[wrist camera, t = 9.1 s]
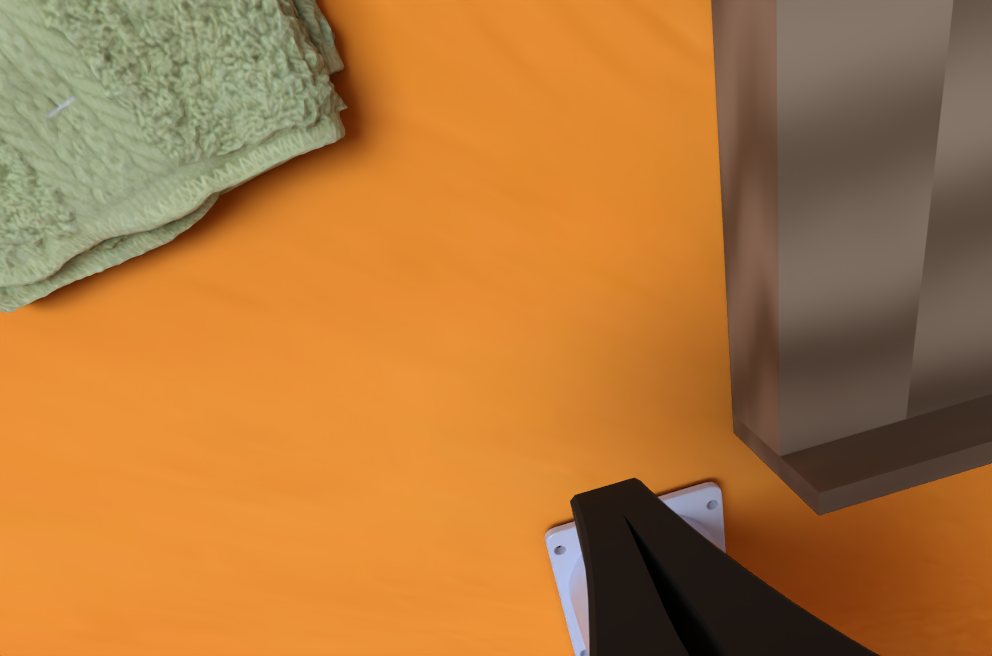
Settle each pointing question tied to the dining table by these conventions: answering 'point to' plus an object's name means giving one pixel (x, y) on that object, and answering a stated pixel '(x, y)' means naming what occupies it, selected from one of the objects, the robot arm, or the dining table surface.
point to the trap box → (858, 238)
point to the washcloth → (145, 122)
